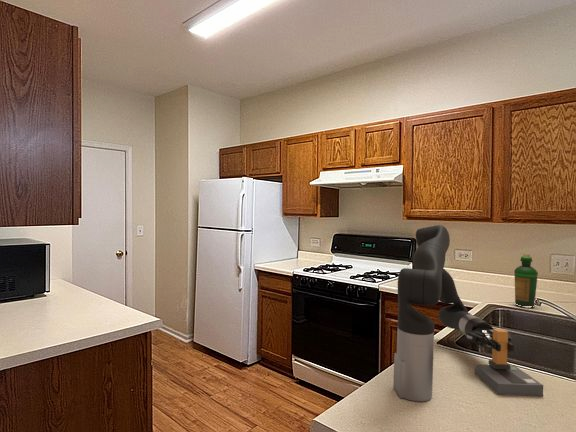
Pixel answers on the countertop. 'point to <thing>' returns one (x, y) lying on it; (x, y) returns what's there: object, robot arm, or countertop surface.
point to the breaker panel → (509, 381)
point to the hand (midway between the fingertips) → (505, 348)
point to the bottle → (525, 282)
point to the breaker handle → (500, 356)
